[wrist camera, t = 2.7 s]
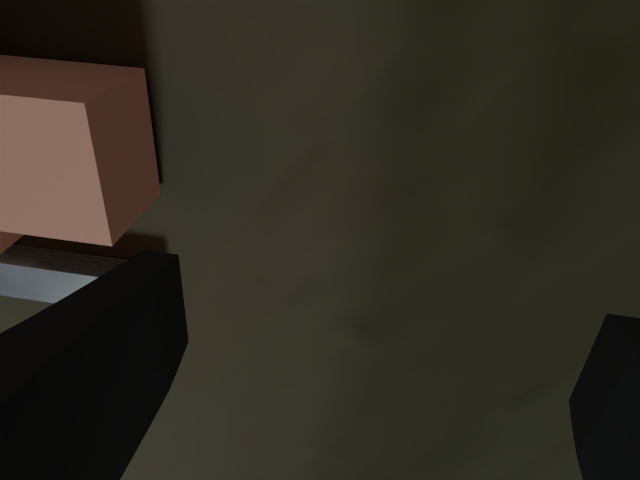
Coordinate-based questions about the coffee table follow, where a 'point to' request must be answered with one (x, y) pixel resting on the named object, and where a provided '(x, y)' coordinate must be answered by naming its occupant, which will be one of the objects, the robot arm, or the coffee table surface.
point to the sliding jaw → (73, 150)
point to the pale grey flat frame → (48, 272)
